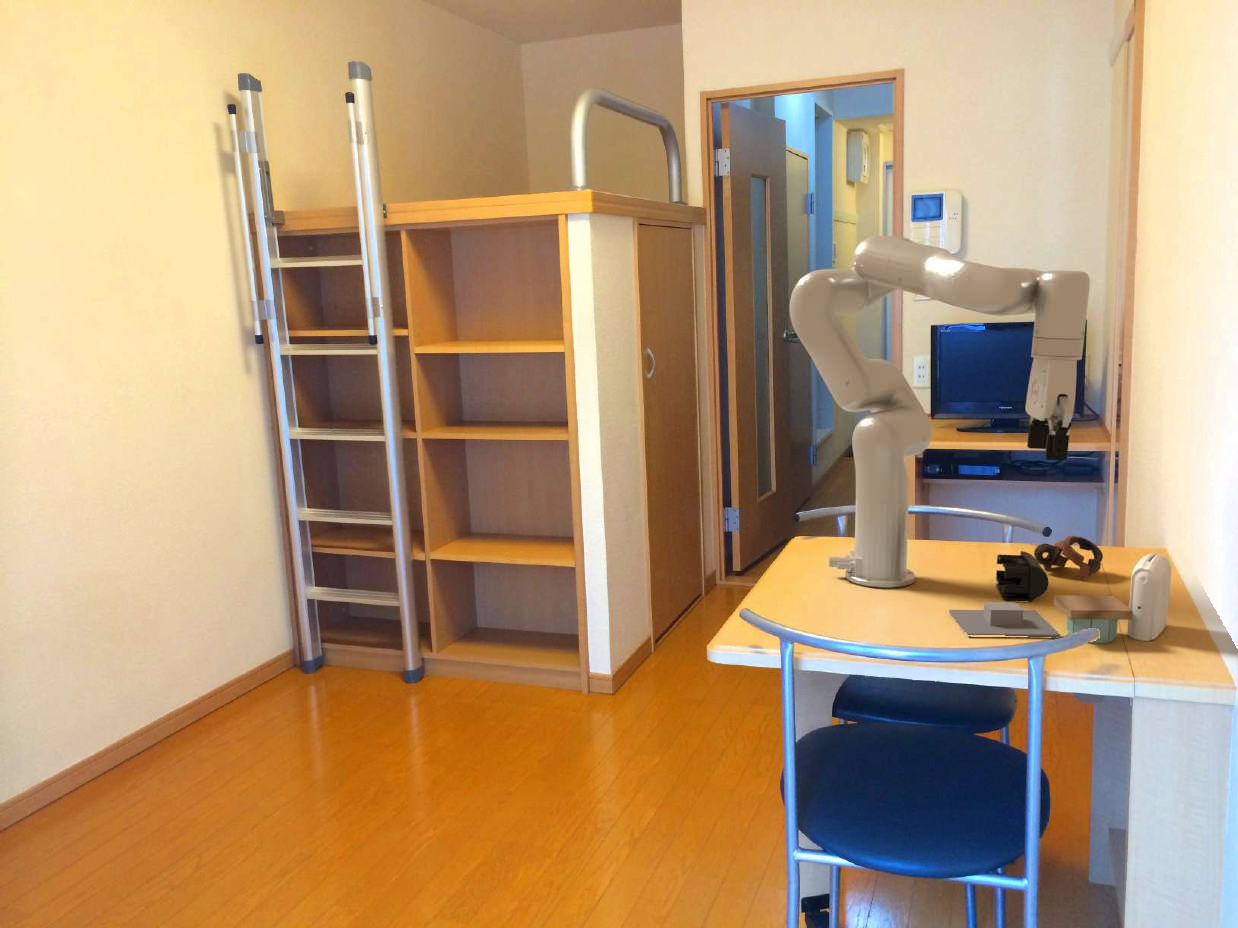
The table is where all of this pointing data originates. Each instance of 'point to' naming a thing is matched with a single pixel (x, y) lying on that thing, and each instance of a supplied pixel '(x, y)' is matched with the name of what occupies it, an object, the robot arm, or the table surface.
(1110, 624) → the ceramic bowl
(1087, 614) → the walnut board
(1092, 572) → the brown piece
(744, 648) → the table surface
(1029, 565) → the end cap
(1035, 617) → the rubber mat
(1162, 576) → the photo printer
